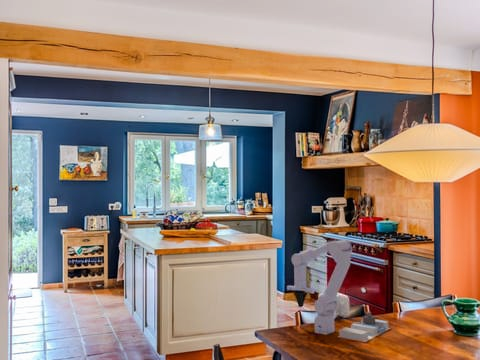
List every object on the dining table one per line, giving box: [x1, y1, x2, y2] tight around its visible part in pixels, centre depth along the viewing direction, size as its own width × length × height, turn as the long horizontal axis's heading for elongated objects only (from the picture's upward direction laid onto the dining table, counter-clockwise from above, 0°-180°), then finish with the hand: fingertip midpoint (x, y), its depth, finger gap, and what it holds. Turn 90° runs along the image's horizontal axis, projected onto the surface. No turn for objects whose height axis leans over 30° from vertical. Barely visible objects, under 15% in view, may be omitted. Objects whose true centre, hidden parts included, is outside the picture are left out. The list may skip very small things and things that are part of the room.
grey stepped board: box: [337, 318, 391, 343], centre depth 218 cm, size 26×13×4 cm, turn 139°
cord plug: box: [362, 311, 376, 325], centre depth 221 cm, size 4×4×8 cm
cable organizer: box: [317, 292, 351, 320], centre depth 250 cm, size 15×11×12 cm
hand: (300, 306), depth 233 cm, fingers closed
